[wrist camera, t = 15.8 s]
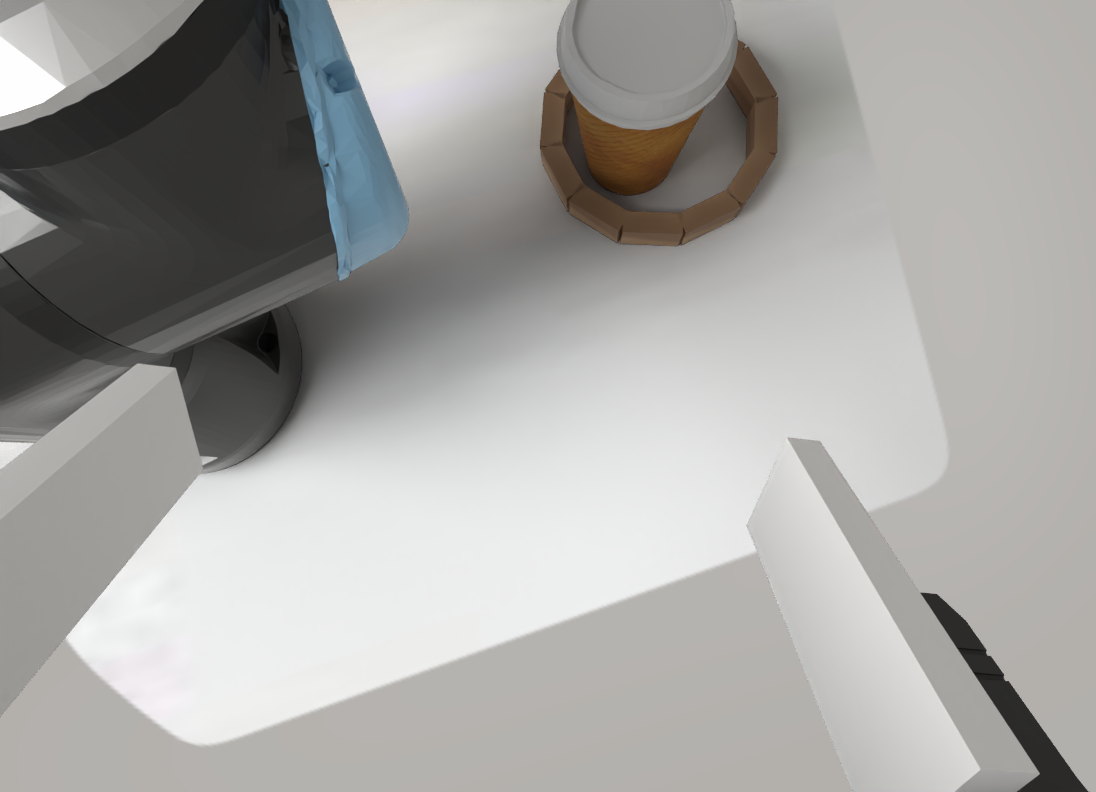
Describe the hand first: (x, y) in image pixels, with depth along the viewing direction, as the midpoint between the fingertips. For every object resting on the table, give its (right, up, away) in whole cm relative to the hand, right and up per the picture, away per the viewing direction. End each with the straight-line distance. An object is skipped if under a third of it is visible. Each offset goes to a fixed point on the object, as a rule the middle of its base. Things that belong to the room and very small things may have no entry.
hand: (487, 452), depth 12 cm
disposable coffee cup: (+7, +19, +28) cm, 34 cm away
